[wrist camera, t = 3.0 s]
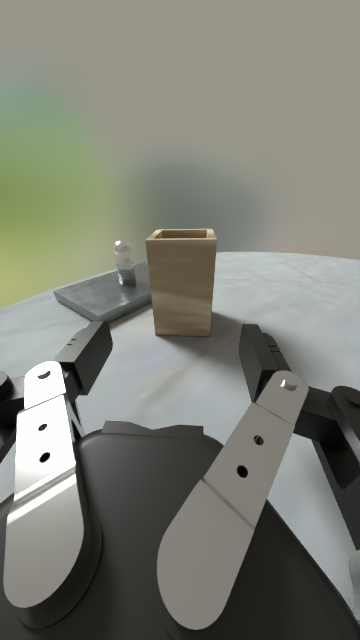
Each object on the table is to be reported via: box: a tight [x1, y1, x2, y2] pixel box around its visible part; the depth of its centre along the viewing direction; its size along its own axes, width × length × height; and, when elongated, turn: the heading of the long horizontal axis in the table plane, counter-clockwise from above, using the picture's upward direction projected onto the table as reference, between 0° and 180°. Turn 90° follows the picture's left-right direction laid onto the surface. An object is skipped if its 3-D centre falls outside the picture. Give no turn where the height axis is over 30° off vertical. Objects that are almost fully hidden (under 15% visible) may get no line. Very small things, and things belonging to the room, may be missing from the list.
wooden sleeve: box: [146, 229, 217, 336], centre depth 22 cm, size 6×6×10 cm
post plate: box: [54, 240, 152, 324], centre depth 31 cm, size 18×12×8 cm, turn 141°
